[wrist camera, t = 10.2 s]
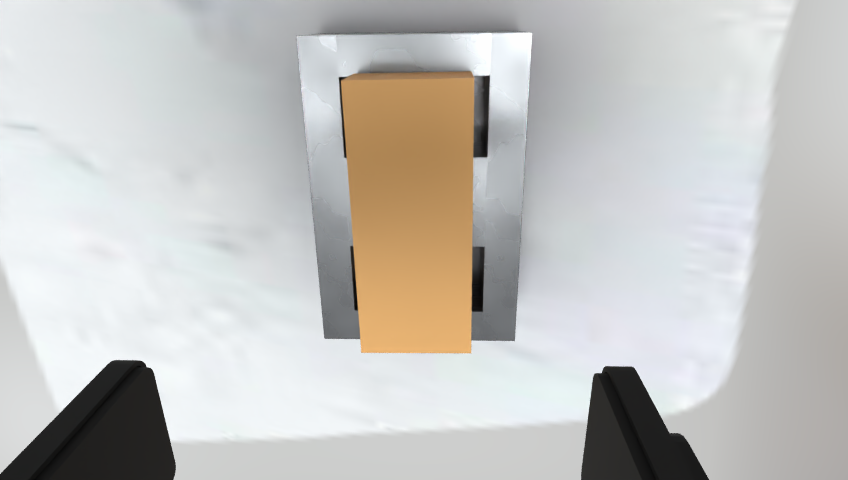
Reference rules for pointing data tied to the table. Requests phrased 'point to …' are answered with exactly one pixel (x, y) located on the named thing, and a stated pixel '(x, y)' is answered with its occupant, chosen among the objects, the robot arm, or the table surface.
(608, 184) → the table surface
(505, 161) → the grey slotted base
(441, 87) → the tan wooden arch block
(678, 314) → the table surface
